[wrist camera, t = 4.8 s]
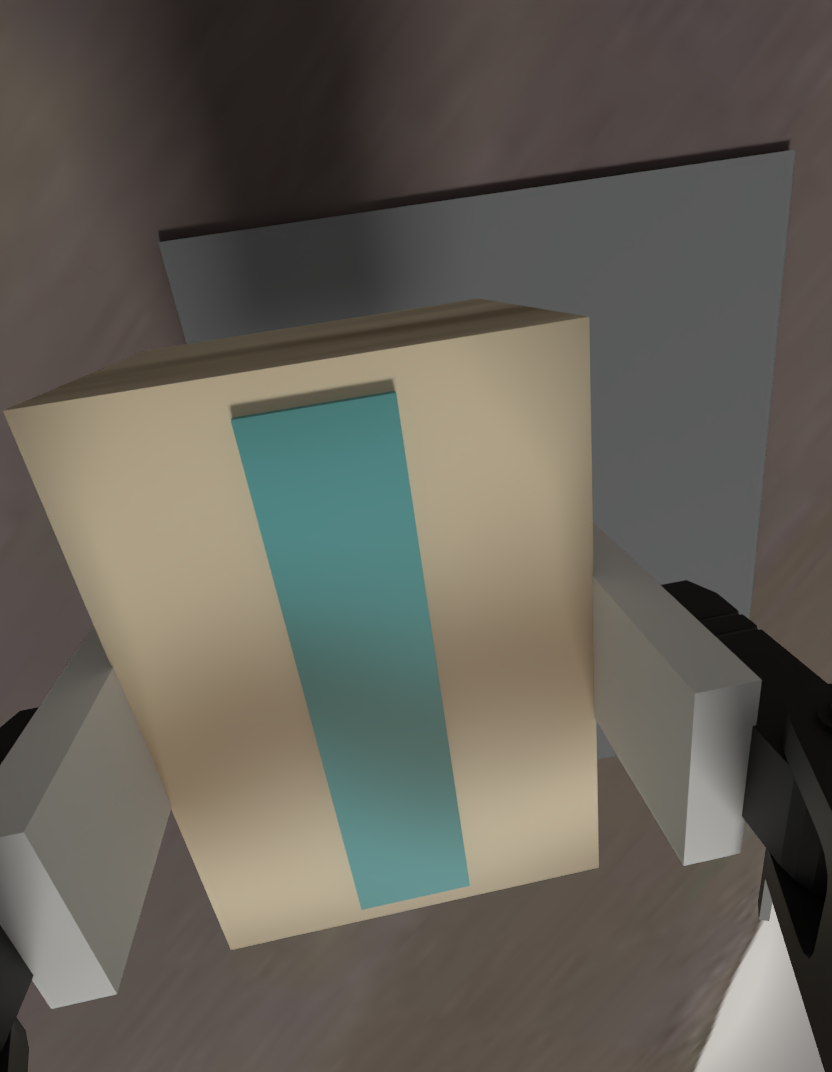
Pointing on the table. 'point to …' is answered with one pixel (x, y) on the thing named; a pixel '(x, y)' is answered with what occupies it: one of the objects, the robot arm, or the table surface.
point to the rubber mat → (582, 289)
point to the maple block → (346, 600)
